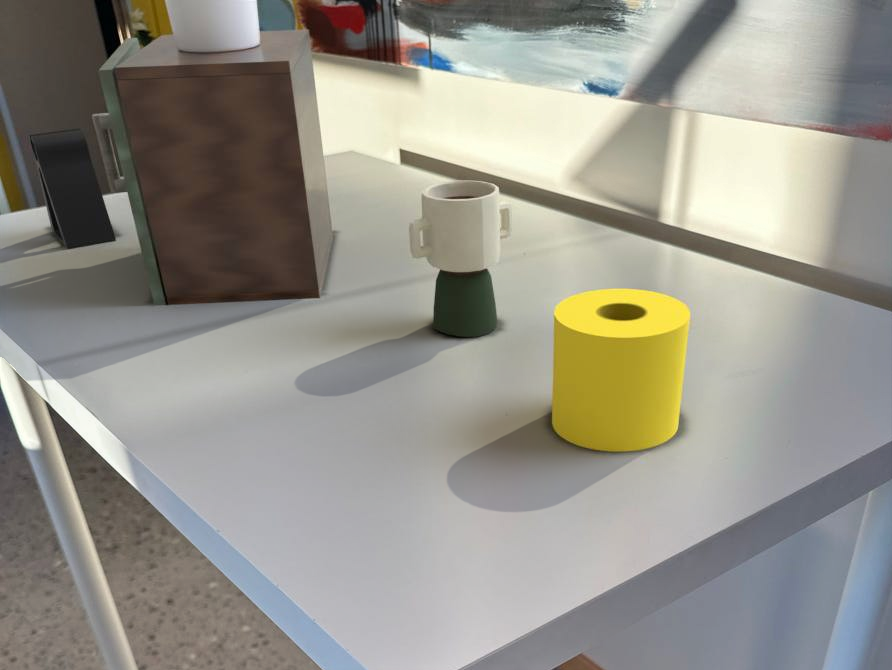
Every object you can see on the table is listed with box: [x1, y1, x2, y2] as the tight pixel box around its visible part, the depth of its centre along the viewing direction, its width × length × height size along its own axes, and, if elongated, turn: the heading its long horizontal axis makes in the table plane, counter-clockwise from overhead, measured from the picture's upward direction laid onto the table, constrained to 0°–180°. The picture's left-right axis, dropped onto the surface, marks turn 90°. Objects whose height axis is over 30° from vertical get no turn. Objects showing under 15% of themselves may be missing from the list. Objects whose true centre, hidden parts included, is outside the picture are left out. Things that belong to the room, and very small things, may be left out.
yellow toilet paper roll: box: [551, 288, 691, 453], centre depth 75 cm, size 10×10×9 cm
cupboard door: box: [91, 37, 168, 307], centre depth 104 cm, size 6×22×22 cm, turn 10°
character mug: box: [408, 179, 513, 338], centre depth 90 cm, size 11×7×13 cm, turn 123°
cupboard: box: [114, 28, 334, 306], centre depth 104 cm, size 16×22×22 cm
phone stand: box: [28, 128, 117, 250], centre depth 119 cm, size 9×6×12 cm, turn 30°
